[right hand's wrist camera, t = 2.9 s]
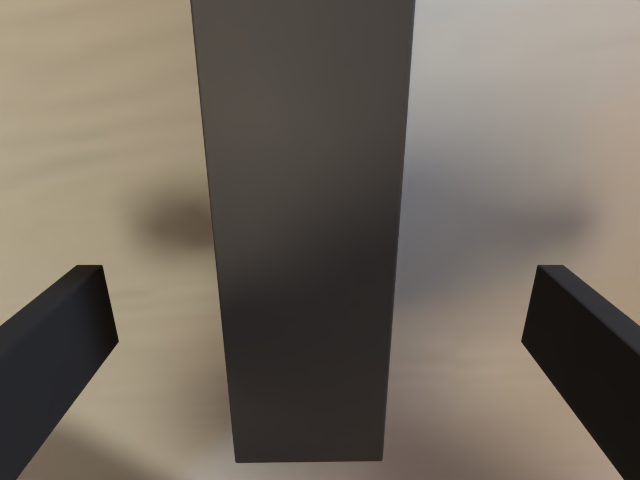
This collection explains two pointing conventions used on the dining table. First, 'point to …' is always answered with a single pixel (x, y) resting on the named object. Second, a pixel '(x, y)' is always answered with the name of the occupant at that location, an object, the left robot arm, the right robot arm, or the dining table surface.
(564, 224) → the dining table surface
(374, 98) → the bar
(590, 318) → the right robot arm
